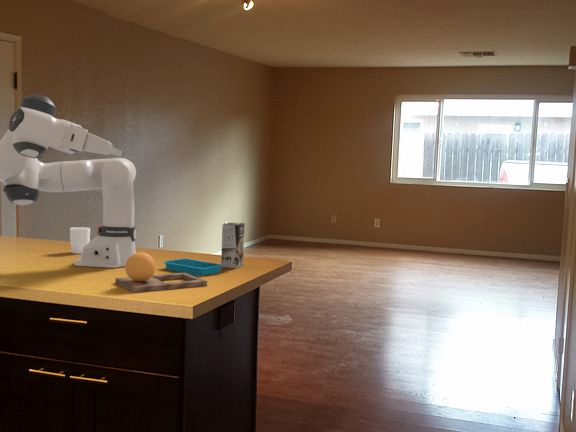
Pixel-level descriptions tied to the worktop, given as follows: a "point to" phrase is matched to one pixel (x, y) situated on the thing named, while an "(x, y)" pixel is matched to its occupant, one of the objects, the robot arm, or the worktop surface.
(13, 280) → the worktop surface
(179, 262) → the ice cube tray
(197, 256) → the worktop surface
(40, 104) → the robot arm
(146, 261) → the ball
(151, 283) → the walnut board
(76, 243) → the white cup
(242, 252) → the coffee box
